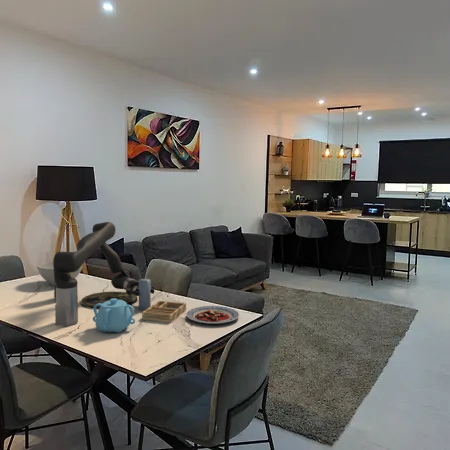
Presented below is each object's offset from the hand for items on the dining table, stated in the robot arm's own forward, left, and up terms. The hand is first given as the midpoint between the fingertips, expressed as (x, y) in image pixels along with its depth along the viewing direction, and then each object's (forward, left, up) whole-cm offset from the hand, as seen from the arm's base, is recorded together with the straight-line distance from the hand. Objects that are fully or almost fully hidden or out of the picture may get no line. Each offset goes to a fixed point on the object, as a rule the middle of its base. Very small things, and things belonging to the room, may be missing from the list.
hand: (146, 293), depth 211 cm
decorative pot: (-30, +1, -9) cm, 31 cm away
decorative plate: (+7, +25, -9) cm, 28 cm away
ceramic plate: (-2, -37, -9) cm, 38 cm away
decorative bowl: (+31, +74, -9) cm, 81 cm away
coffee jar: (+2, +51, -9) cm, 52 cm away
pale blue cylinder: (+1, +1, -9) cm, 9 cm away
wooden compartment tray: (-5, -13, -9) cm, 16 cm away
